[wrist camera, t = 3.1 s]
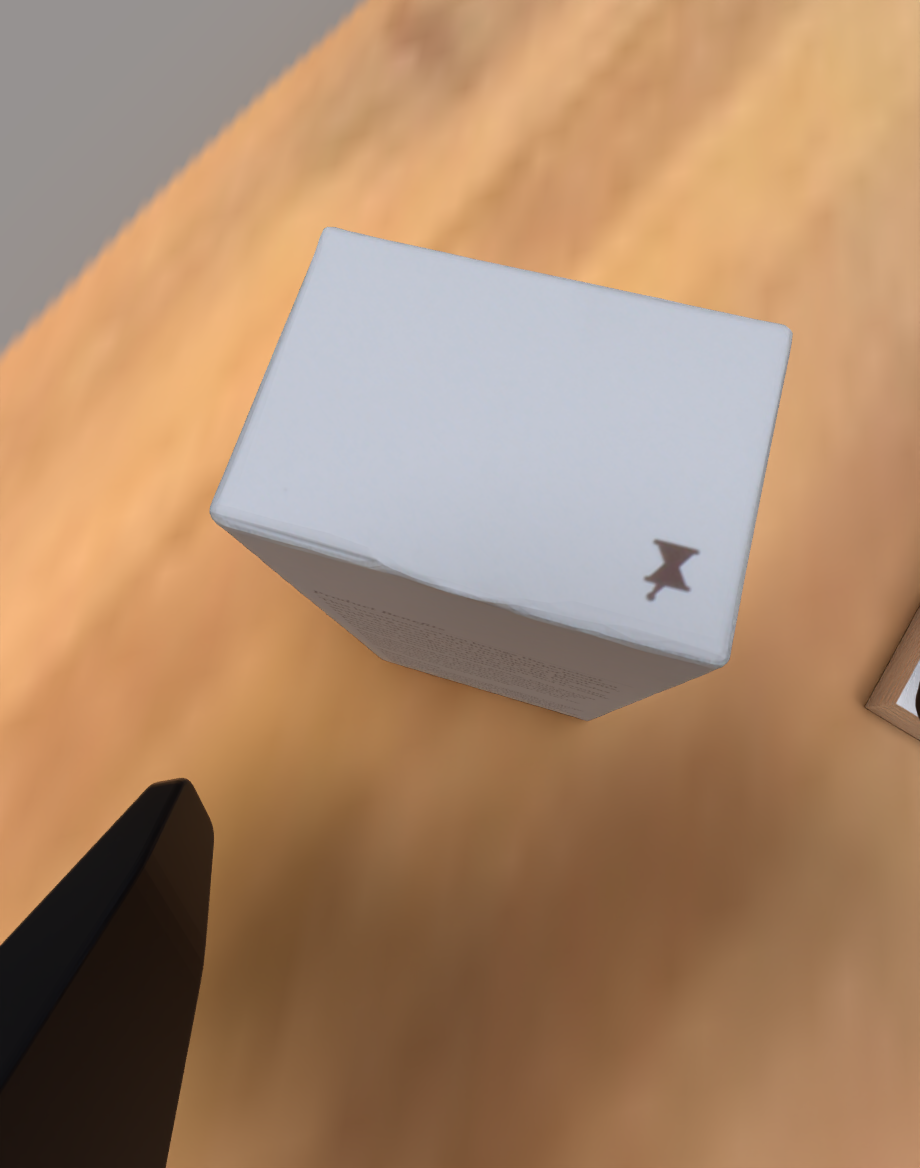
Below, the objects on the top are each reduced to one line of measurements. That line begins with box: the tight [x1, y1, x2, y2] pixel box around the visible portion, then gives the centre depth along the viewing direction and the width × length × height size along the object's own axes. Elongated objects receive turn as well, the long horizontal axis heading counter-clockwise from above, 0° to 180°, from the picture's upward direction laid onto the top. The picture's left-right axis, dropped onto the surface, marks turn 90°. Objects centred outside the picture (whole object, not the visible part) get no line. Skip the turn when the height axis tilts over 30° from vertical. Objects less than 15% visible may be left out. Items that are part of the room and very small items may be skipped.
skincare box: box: [210, 227, 793, 721], centre depth 14 cm, size 6×4×12 cm
